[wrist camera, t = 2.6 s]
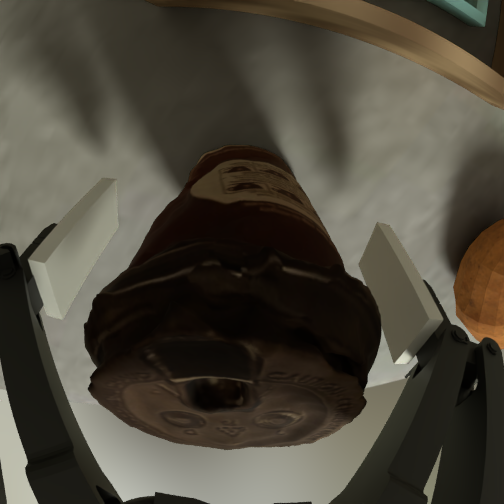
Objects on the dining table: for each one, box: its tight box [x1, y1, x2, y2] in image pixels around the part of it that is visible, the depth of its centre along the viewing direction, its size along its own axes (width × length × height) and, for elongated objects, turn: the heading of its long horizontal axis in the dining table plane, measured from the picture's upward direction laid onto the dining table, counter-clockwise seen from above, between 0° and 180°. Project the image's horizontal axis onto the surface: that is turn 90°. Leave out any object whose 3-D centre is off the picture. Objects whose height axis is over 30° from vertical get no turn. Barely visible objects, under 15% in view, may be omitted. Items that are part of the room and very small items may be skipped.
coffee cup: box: [84, 145, 381, 450], centre depth 12 cm, size 9×8×13 cm
